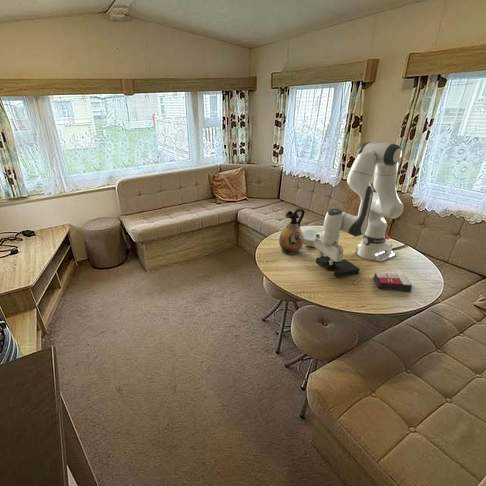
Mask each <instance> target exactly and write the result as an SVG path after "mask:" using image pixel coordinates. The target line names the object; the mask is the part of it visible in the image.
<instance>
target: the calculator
mask: <svg viewBox="0 0 486 486" xmlns="http://www.w3.org/2000/svg"><path fill="white" fill-rule="evenodd" d="M373 275H374V276H373V279H374V282H375V283H376V285H377V287H378V289H380V290H396V291H402V292H411V291H412V288H413V285H412V283H411V281H410V280H409V279H408V277H407V276H406V275H405V274H401V273H392V272H391V273H390V272H387V273H386V272H375V273H374V274H373Z"/></svg>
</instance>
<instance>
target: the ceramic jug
mask: <svg viewBox="0 0 486 486" xmlns="http://www.w3.org/2000/svg"><path fill="white" fill-rule="evenodd" d="M299 212H300V215H299V214H298V213H299ZM304 216H305V210H304V209H303V207H302V208H301V207H298V208H296V209H295V210H294V212H292V211H291V210H289V211H287V212H286V213H285V218H287V219H290V221H289V222H288V223H287V225H286V226H285V227H284V228H283V229H282V231H281V232H280V234H279V239H278V244H279V246H280V248H281V249H282V252H283V253H285V254H287V255H295V254H297V253H298V251H299V250H301V249H302V247H303V245H304V244H303V243H304V236H303V233H302V229H301V223H302V221H303V219H304Z"/></svg>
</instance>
